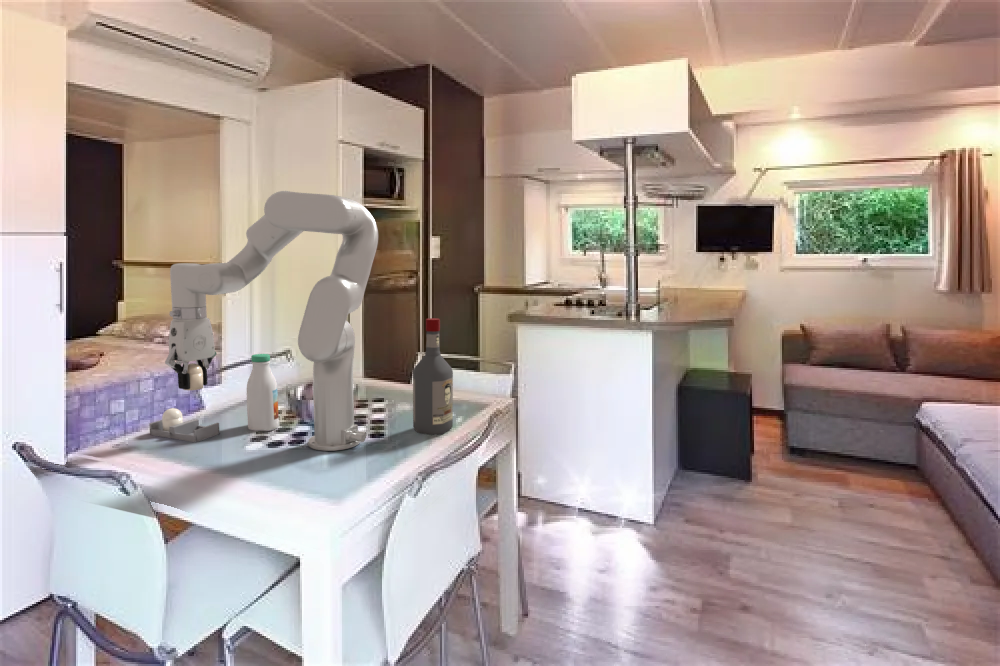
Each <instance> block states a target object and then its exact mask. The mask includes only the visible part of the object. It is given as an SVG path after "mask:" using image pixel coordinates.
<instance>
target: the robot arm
mask: <svg viewBox="0 0 1000 666" xmlns="http://www.w3.org/2000/svg"><path fill="white" fill-rule="evenodd" d="M263 207H264V208H263V211H264V213H263V215H262V216H260V218H259V219H258V220H257V221H255V222H254V223H253V224H251V225H250V227H248V228H247V230H246V232H245V235H246V239H247V242H246V244H245V246H244V247H242V249H241V251H240V252H238V253H237V254H236V255H234V256H233V257H232V258H231V259H230V260H229V261H227V262H217V263H215V262H214V263H206V264H205V263H204V264H200V263H189V262H188V263H187V262H186V263H185V262H184V263H182V262H181V263H179V262H178V263H174V264H172V265H171V266H170V269H169V271H170V272H169V276H170V294H171V296H170V297H171V311H169V316H170V317H171V318H172V320H170V325H169V330H168V331H169V333H168V334H169V335H168V355H167V357H166V359H165V361H164V364H165V365H167V366H169V367H170V368H171V369H173V371H174V372H175V374H177V383H178V384H177V385H178V389H181V390H183V389H186V390H185V391H189V390H188V389H190V374H189V373H187V370H188V364H190V363H189V362H194V361H195V364H198V365H199V366H200V367H201V368H202V370H203V386H206V385H207V386H208V370H209V368H210V364H211V363H212V361H213V359H214V358H215V357H216V356H217V352H216V350H215V349H216V348H215V339H214V331H213V327H212V323H211V320H210V319H211V318H208V317H207V314H208V313H207V311H208V310H207V296H218V295H223V294H230V293H237V292H238V291H240V290H242V289H244V288H245V287H247V286H248V285H249V284H250V283H251V282H252V281H254V280H255V279H256V278H257V277H259V275H261V274H262V273H263V272H264V271H265V270H266V268H267V267H268V266H269V264H270V263H271V262H272V260H273V259H274V257H275V256H276V255H277V254H278V253H279V252H281V251H282V250H283V249H284V248H285V247H286V246H288V245H290V243H291V242H292V241H294V240H295V239H296V238H298V237H299V236H300V235H301V234H303V232H311V233H312V232H313V233H325V234H331V235H332V234H333V235H342V242H341V244H340V246H339V248H338V251H337V253H336V256H335V259H334V264H333V267H332V271H331V272H330V275H329V276H325V277H323V278H321V279H320V280H318V281H317V282H316V283H315V285H314V286H313V287H312V289H311V291H310V293H309V297H308V300H307V303H306V305H305V306H306V307H305V309H304V313H303V317H302V320H301V324H300V328H299V330H298V331H299V332H298V336H297V345H298V349H299V351H300V354H301V355H302V356H303V357H304V358H305V359H306V360H308V361H310V362H312V363H313V365H312V366H313V367H312V381H313V382H312V394H313V427H314V430H313V431H314V435H313V436H310V438H309V439H308V441H307V443H308V447H309V448H311V449H313V450H317V451H325V452H326V451H327V452H328V451H329V452H330V451H332V452H333V451H342V450H347V449H351V448H354V447H356V446H358V445H359V444H360V443H363V442H365V441H366V438H367V431H362V430H359V425H358V424H356V423H355V408H354V403H355V400H354V358H355V357H354V355H355V348H356V336H355V331H354V328H353V326H352V325H351V324H350V322H349V321H348V320H347V319H348V316H349V314H351V313H353V312H355V311H356V310H358V309H359V308H360V306H361V305H362V302H363V299H364V295H365V292H366V288H367V285H368V281H369V277H370V274H371V270H372V267H373V262H374V259H375V256H376V252H377V249H378V245H379V230H378V226H377V222H376V220H375V218H374V217H373V215H372V214H371V212H370V211H369V210H368V209H367V207H365V206H364V205H363V204H361V203H360V202H359V201H357V200H354V199H352V198H347V197H343V196H339V195H335V194H326V193H325V194H322V193H310V192H298V191H297V192H296V191H290V190H280V191H276V192H274V193H272V194H271V195H270V196H269V197H268V198H267V199H266V202H264V206H263ZM206 295H207V296H206Z"/></svg>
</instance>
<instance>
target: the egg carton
mask: <svg viewBox="0 0 1000 666" xmlns="http://www.w3.org/2000/svg"><path fill="white" fill-rule="evenodd" d="M199 421H200V420H199V419H195V418H193V419H191V420H186V421H183V423H180V424H177V425H173V426H170V432H169V431H163V423H162V419H159V420H156V421H153V422H150V423H148V425H149V426H148V427H149V435H150V436H155V437H161V438H168V439H173V440H179V441H186V442H191V443H199V442H200V441H204V440H206V439H211V438H212V437H215V436H219V435H220V423H219V422H216V423H211V424H209V425H206V426H204V425H200V423H199Z"/></svg>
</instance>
